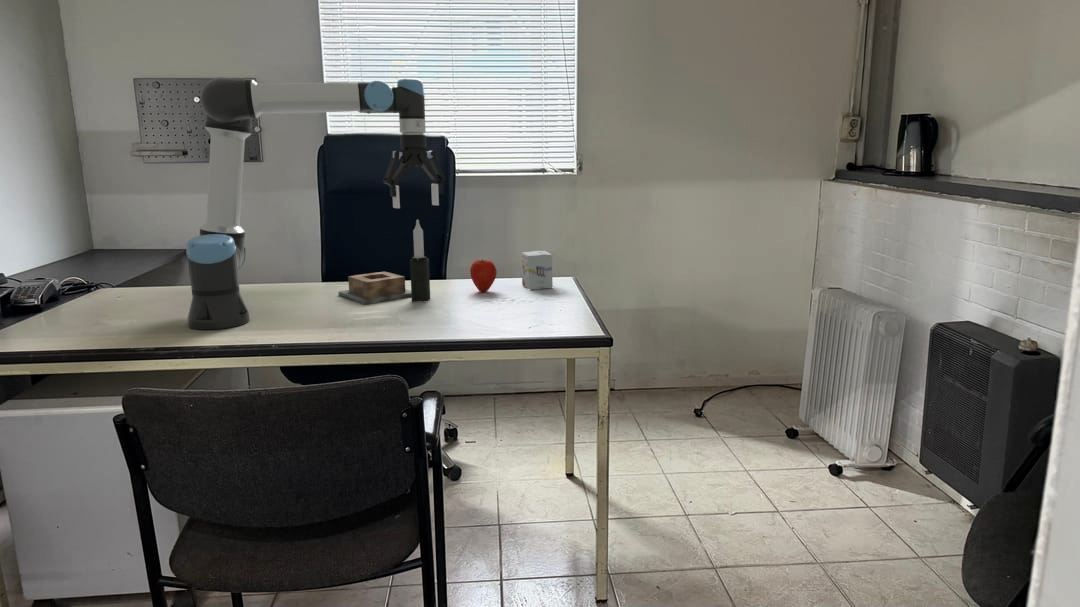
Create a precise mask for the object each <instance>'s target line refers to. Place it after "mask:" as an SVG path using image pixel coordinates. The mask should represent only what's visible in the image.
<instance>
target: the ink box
mask: <svg viewBox="0 0 1080 607" xmlns="http://www.w3.org/2000/svg"><path fill="white" fill-rule="evenodd" d="M521 264H522V265H521V272H522V274H521V277H522V279H521V280H522V282H521V283H522V284H521V286H522V285H524V286H525V287H527V288H528V289H535V290H541V289H540V288H548V289H553V288H554V286H553V254H552V253H550V252H548V251H547V250H534V251H523V252H521ZM524 286H523V287H524ZM525 287H524V288H525ZM552 287H553V288H552ZM527 288H526V289H527ZM528 289H527V290H528Z"/></svg>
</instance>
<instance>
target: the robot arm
mask: <svg viewBox="0 0 1080 607" xmlns="http://www.w3.org/2000/svg"><path fill="white" fill-rule="evenodd" d="M199 96H200V97H199V98H200V100H199V101H200V105H201V107H202V109H203V111H204V112H205V120H204V122H205V124H204V129H205V130H206V131H207V133H209V135H210V144H209V145H210V146H209V147H210V148H209V164H208V182H207V183H208V184H207V186H208V187H207V202H206V221H205V222H204V223H203V224H202V225H201V226H200V228H199V236H194V237H192V238H190V239H189V240H187V242H186V249H185V250H186V251H185V253H186V257H187V265H188V270H189V272H188V274H189V279H190V289H191V295H192V296H191V297H192V298H191V302H190V306H189V310H188V315H187V324H188V327H189V328H190V329H193V330H194V329H195V330H206V331H207V330H210V331H211V330H221V329H228V328H229V329H230V328H233V327H234V328H235V327H237V326H238V327H239V326H241V325H245V324H246V323H248V322H250V321H251V320H250V312H249V310H248V309H249V308H247V305H246V304H245V300H244V299H243V297H242V294H241V291H240V284H239V283H240V281H239V270H240V269H241V268H242V267H243V265H244V262H245V261H246V256H247V252H246V247H245V240H246V239H245V238H246V237H245V236H246V230H245V229H244V228H243V226H241V224H240V223H241V211H242V210H241V209H242V208H241V207H242V193H243V192H242V191H243V175H244V159H245V144H246V143H245V142H246V141H245V140H246V139H247V138H249V137H250V136H251V135H252V127H253V125H252V124H253V119H258V118H259V117H260V116H261V115H270V114H272V115H273V114H304V113H305V114H308V113H310V114H311V113H343V112H344V113H345V112H347V113H348V112H358V113H360V114H362V113H363V114H398V119H399V120H398V121H399V133H401V135H400V137H399V140H400V148H401V150H400V151H398V150H393V151H392V150H391V153H390V154H391V155H390V156H391V157H390V158H391V159H390V161H389V164H388V166H387V168H386V169H387V170H386V171H385V175H384V178H383V179H382V182H383V184H386V185H388V186H389V196H390V197H392V208H394V209H401V204H400V202H401V201H400V186H399V185H397V184H398V183H399V181H400V179H401V178H402V176H403V175H404V173H405V172H406V171H407V169H408V168H410V167H421V168H422V170H424V172H425V174H426V175H427V176H428V178H429V179H430V180H431V181H432V182H433V183H431V184H430V185H431V206H440V202H439V201H440V198H439V195H441V184H442V183H443V182H445V181H446V179H447V178H446V177H445V174H444V172H443V170H442V168H441V166H440V164H439V161H438V159H437V155H436V154H437V153H436V151H435V150H428V151H427V136H426V135H425V134H426V131H427V130H426V112H425V110H426V109H425V106H426V105H425V104H426V102H425V91H424V83H423V81H422V80H421V79H416V78H400V79H398V80H397V84H396V85H394V86H393V85H392V86H390V84H387V83H386V82H384V81H383V80H373V81H371V82H370V81H368V82H365V81H364V82H362V81H361V82H355V81H353V82H352V81H351V82H349V81H348V82H342V81H341V82H296V83H295V82H280V83H279V82H277V83H273V82H272V83H270V82H269V83H266V82H265V83H258V82H257V81H255V80H254V79H244V78H243V79H240V78H230V77H224V76H223V77H222V76H221V77H215V78H212V79H210V80H209V81H207V82H206V83H205V84H204V86H202V88H201V91H200V95H199ZM400 159H402V161H401V162H400V164H399V166H398V163H399V161H400ZM426 159H428V160H429V162H428V161H427V160H426ZM430 165H431V166H430ZM397 166H398V168H397Z"/></svg>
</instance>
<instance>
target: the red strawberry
mask: <svg viewBox="0 0 1080 607" xmlns="http://www.w3.org/2000/svg"><path fill="white" fill-rule="evenodd" d="M469 272H470V278H471V281H472V283H473V285H474V286H475V287H476V289H477V290H478V291H479V292H480V291H481V292H480V293H486V292H485V291H487V292H488V291H489V290H490V289H491V287H492V285H493V284H494V282H495V281H496V280H495V279H496V278H497V274H498V270H497V268H496V266H495V264H494V262H493V261H491V260H488V259H487V260H486V259H483V258H482V259H477V260H474V261H473V262H472V264H471V265H470V271H469Z"/></svg>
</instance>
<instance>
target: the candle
mask: <svg viewBox="0 0 1080 607" xmlns="http://www.w3.org/2000/svg"><path fill="white" fill-rule="evenodd" d="M412 233H413V234H412V236H413V256H412V257H411V259H409V271H410V289H411V290H410V291H411V295H412V297H411V301H412V302H413V301H423V303H425V302H424V301H427V302H429V301H430V300H431V287H430V284H431V283H430V259H429V258H427V257H428V256H425V250H424V248H425V247H424V246H425V245H424V229H422V227H421V224H420V220H419V219H416V221H415V227H414V229H413V231H412ZM429 299H430V300H429ZM428 300H429V301H428Z"/></svg>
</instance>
